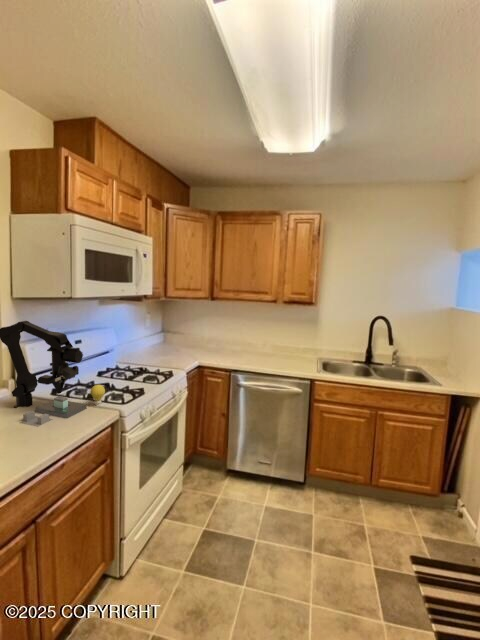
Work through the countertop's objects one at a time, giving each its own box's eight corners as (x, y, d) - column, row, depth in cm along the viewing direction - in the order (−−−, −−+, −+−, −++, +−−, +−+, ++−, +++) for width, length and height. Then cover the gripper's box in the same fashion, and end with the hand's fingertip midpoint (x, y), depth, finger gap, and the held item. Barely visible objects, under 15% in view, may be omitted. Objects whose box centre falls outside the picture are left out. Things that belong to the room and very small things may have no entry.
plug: (54, 412, 164) (53, 398, 163) (59, 409, 167) (58, 395, 165) (63, 414, 163) (62, 400, 161) (68, 411, 165) (67, 397, 164)
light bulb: (100, 407, 172) (99, 387, 170) (87, 406, 173) (87, 386, 172) (107, 402, 178) (107, 383, 177) (96, 401, 179) (95, 382, 178)
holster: (19, 424, 150) (18, 416, 150) (35, 417, 158) (34, 409, 157) (37, 428, 148) (37, 419, 147) (53, 421, 155) (52, 412, 155)
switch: (35, 413, 162) (35, 407, 161) (56, 404, 173) (55, 398, 173) (67, 420, 157) (67, 413, 156) (86, 410, 168) (86, 403, 167)
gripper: (56, 368, 153) (57, 402, 155) (87, 358, 170) (87, 389, 172) (36, 364, 156) (37, 398, 158) (69, 355, 174) (69, 386, 176)
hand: (59, 393), depth 166 cm, fingers closed
